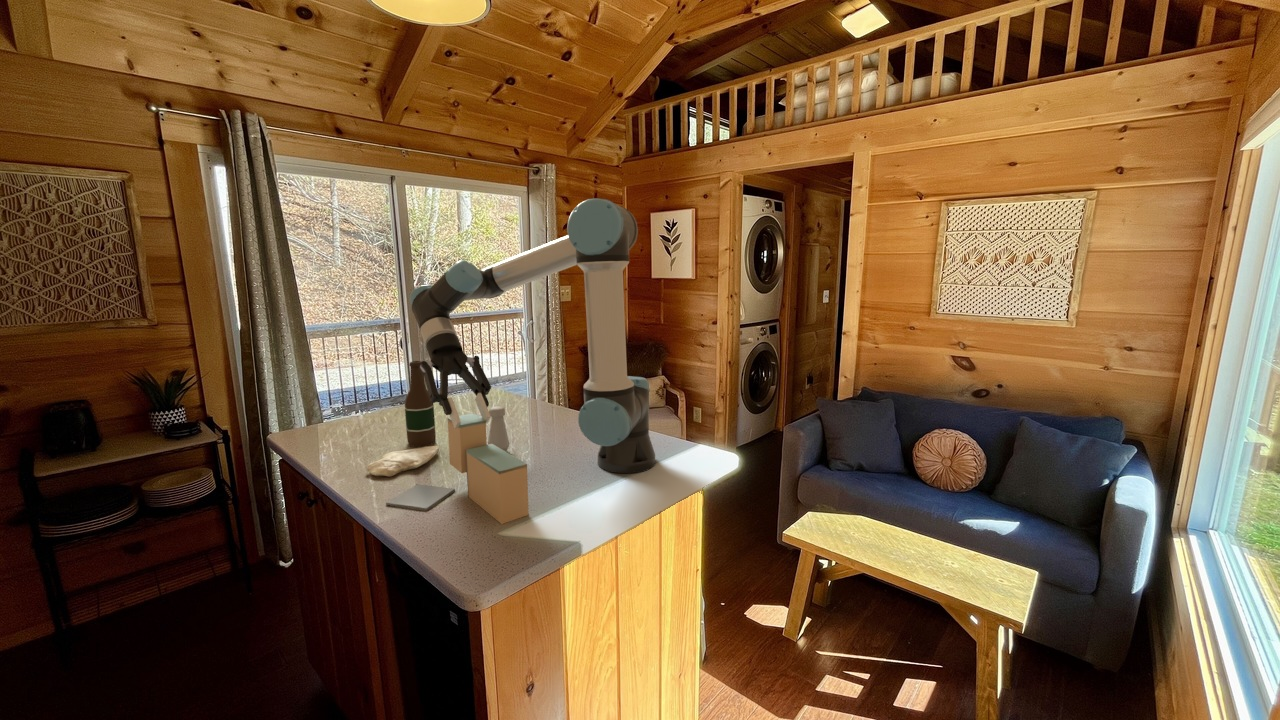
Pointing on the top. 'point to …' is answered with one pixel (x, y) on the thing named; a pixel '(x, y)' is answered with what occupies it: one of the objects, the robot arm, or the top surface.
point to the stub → (465, 439)
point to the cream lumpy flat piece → (401, 461)
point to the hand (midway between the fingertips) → (472, 422)
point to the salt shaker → (498, 428)
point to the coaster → (420, 497)
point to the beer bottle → (419, 410)
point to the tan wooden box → (497, 482)
